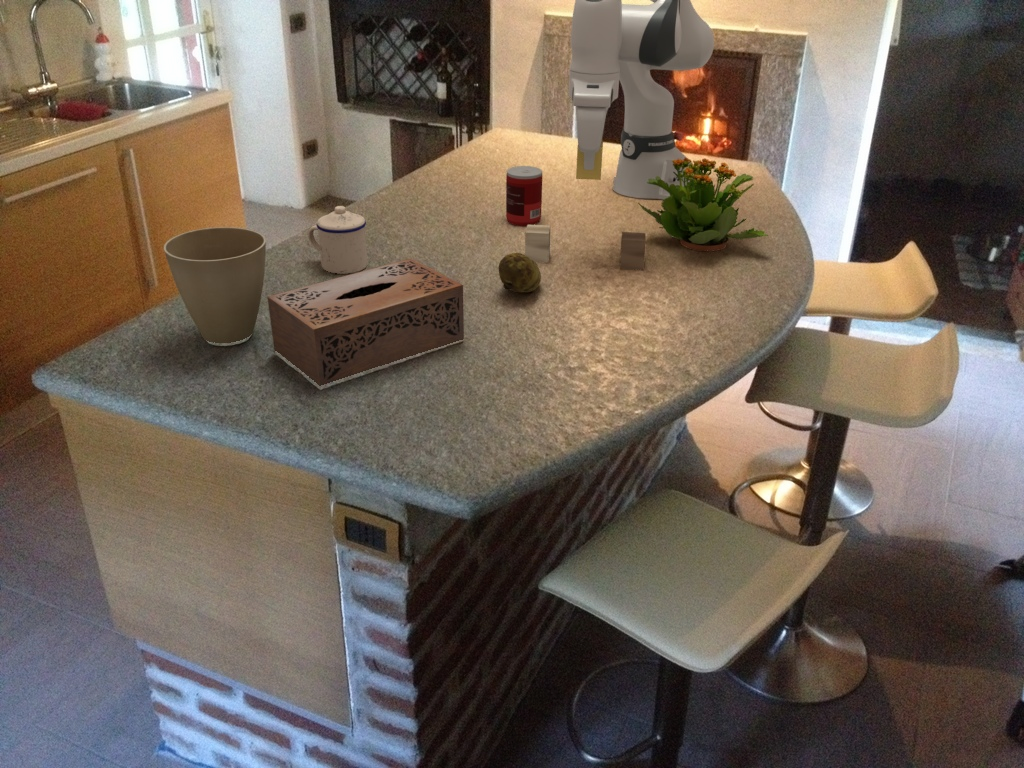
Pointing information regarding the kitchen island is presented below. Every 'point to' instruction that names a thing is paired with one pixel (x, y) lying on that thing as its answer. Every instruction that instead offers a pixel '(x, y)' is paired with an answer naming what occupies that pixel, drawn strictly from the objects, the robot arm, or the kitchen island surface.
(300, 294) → the tissue box cover
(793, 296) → the kitchen island surface
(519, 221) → the canned food
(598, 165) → the mustard block
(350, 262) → the teacup with lid
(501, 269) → the potato
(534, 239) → the birch block
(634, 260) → the walnut block
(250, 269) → the plant pot
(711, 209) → the potted flower
